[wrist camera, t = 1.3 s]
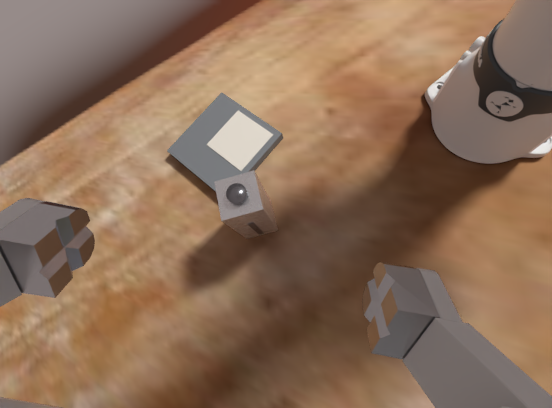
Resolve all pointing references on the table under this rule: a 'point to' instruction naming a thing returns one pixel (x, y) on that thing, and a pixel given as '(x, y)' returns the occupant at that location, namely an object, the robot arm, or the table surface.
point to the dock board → (225, 142)
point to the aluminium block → (245, 205)
